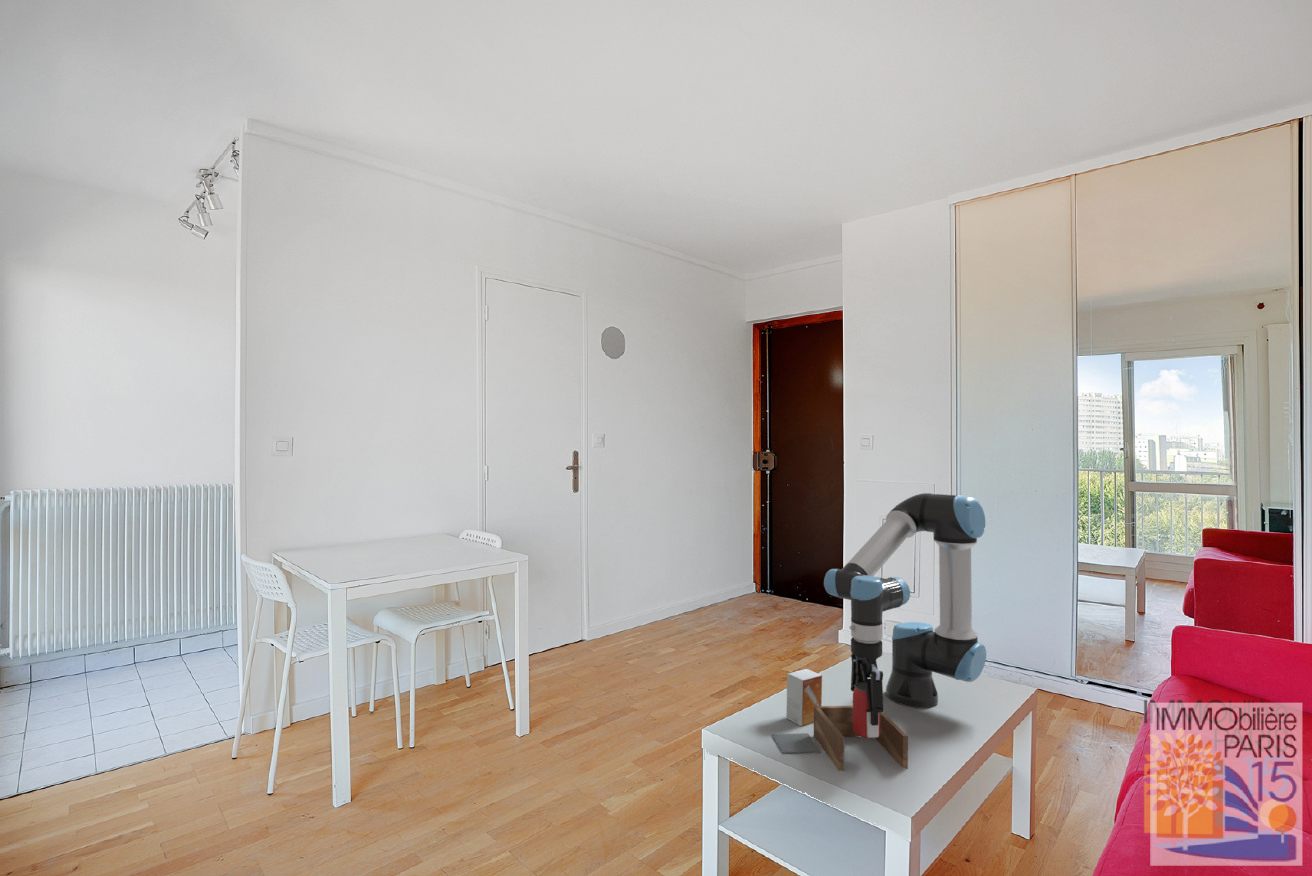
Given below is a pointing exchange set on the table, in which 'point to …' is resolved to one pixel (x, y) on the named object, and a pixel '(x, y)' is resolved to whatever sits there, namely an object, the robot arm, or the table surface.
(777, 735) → the place mat
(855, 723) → the beer can
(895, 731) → the open wooden enclosure
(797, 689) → the small box
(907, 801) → the table surface
